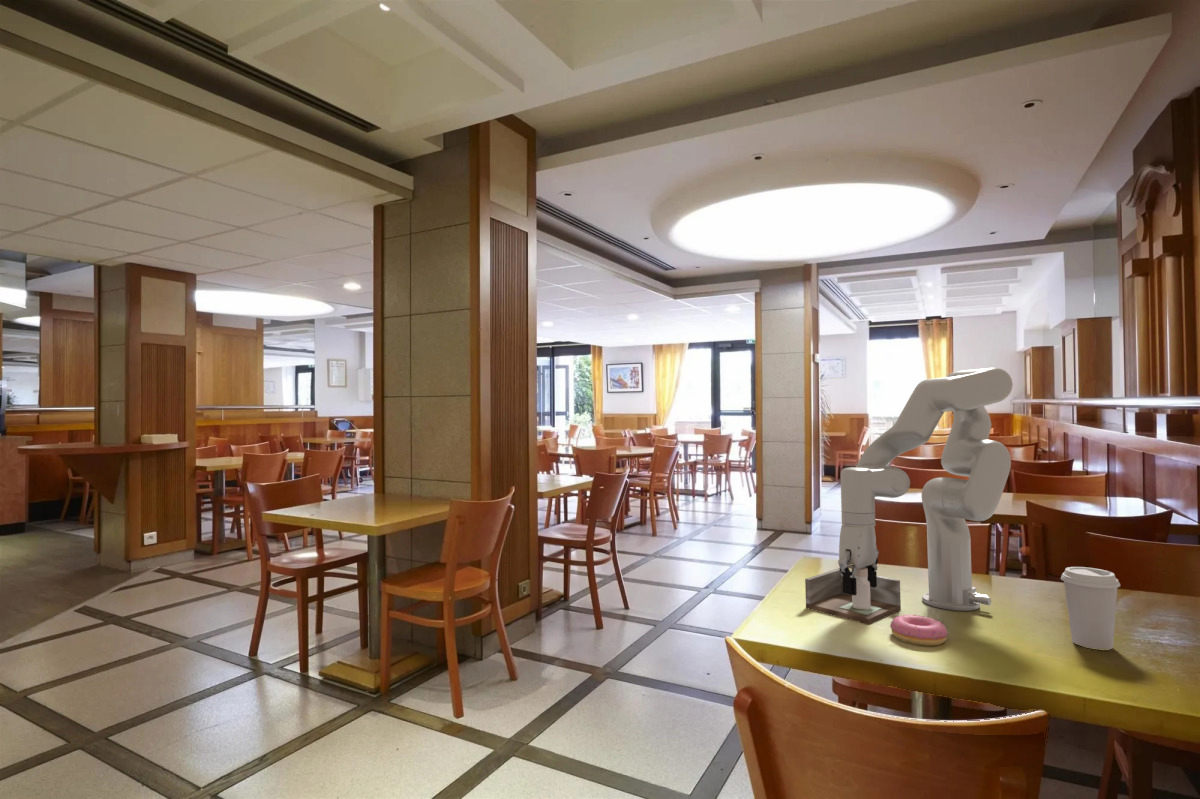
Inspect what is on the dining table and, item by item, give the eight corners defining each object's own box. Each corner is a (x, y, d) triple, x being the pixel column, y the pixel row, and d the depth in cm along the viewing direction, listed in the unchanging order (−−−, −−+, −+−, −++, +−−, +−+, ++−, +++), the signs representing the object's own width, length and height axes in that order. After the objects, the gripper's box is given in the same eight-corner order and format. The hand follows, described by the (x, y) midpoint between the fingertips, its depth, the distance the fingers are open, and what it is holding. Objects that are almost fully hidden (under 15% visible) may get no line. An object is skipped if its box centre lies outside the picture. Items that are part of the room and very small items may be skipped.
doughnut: (954, 638, 130) (954, 619, 130) (939, 653, 122) (938, 632, 122) (900, 626, 137) (900, 608, 138) (882, 639, 130) (882, 620, 130)
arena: (900, 609, 149) (899, 580, 149) (868, 624, 139) (867, 592, 139) (839, 595, 161) (838, 568, 161) (805, 608, 151) (805, 578, 151)
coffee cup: (1127, 657, 118) (1124, 579, 119) (1065, 648, 123) (1063, 573, 124) (1117, 641, 126) (1115, 569, 127) (1060, 633, 131) (1058, 563, 132)
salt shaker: (870, 610, 144) (869, 570, 144) (852, 609, 145) (851, 569, 146) (870, 606, 147) (869, 566, 148) (852, 604, 149) (851, 565, 149)
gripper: (861, 513, 155) (862, 580, 155) (824, 521, 144) (826, 593, 144) (890, 516, 150) (892, 586, 149) (854, 525, 139) (856, 600, 138)
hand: (860, 590), depth 146 cm, fingers open, 9 cm apart
